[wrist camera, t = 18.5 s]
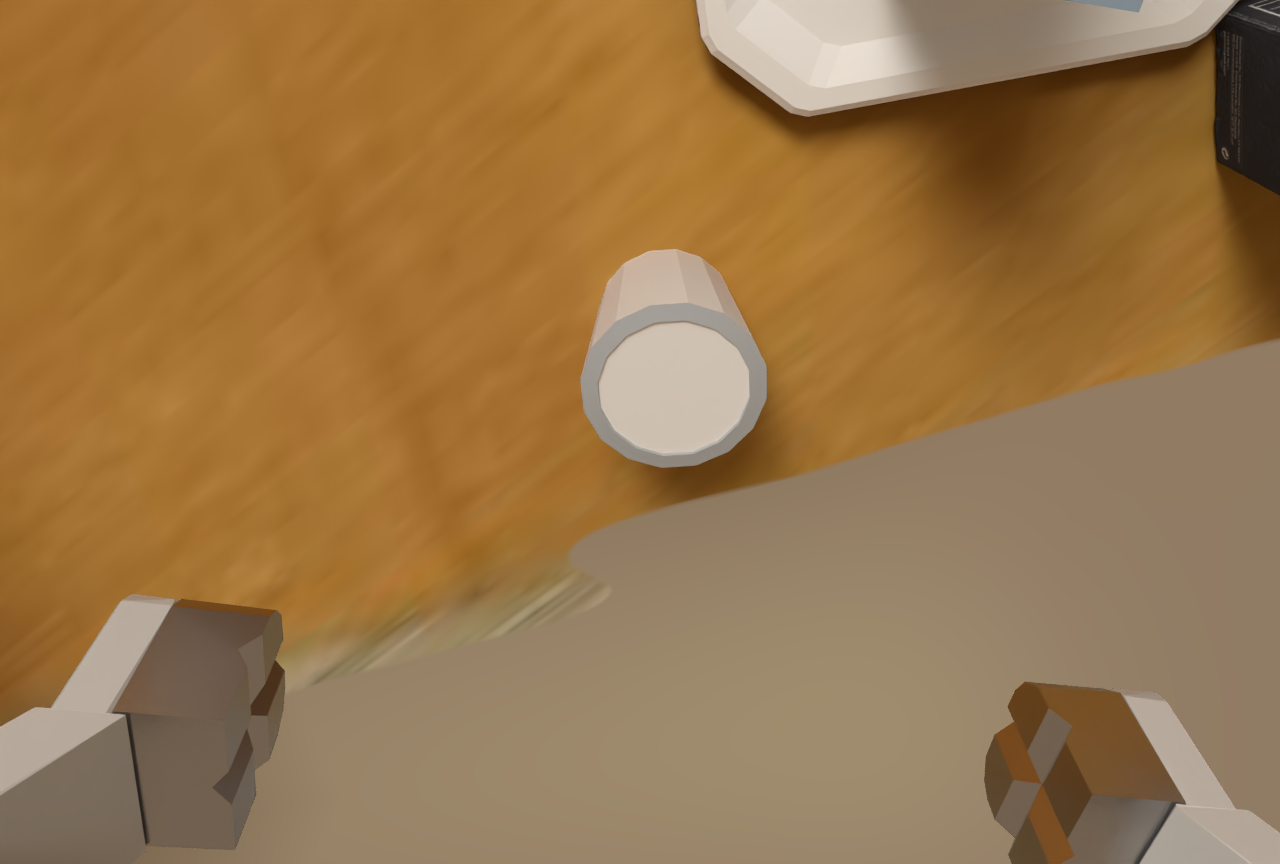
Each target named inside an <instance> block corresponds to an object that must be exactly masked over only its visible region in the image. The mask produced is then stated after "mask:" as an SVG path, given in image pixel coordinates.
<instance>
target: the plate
mask: <svg viewBox="0 0 1280 864" xmlns="http://www.w3.org/2000/svg"><path fill="white" fill-rule="evenodd" d="M1238 1H1239V0H1143V3H1142V5H1141V8H1140V11H1139V13H1138V12H1132V11H1126V10H1120V9H1114V8H1108V7H1102V6H1096V5H1090V4H1084V3H1078V2H1072V1H1066V0H696V6H697V13H698V20H699V27H700V35H701V38H702V40H703V41H704V43H705V45H706V47H707V48H708V50H709V52H710V53H711V54H712V55H713V56H715V57H716V58H717V59H719V60H720V61H721V62H723V63H724V64H725V65H727V66H728V67H729V68H731V69H732V70H733V71H735V72H736V73H737V74H739V75H740V76H741V77H743V78H744V79H745V80H747V81H748V82H749V83H751V84H752V85H753V86H755V87H756V88H757V89H759V90H760V91H761V92H763V93H764V94H765V95H767V96H768V97H769V98H771V99H772V100H773V101H775V102H776V103H777V104H779V105H780V106H781V107H783V108H784V109H785V110H787V111H788V112H790V113H792V114H797V115H801V116H806V117H810V116H815V115H820V114H826V113H831V112H837V111H842V110H848V109H853V108H858V107H864V106H869V105H875V104H880V103H886V102H891V101H896V100H902V99H907V98H913V97H918V96H924V95H929V94H934V93H940V92H945V91H951V90H956V89H961V88H967V87H972V86H978V85H983V84H989V83H994V82H999V81H1005V80H1010V79H1016V78H1021V77H1027V76H1032V75H1037V74H1043V73H1048V72H1054V71H1059V70H1064V69H1070V68H1075V67H1081V66H1086V65H1092V64H1097V63H1102V62H1108V61H1113V60H1119V59H1124V58H1130V57H1135V56H1140V55H1146V54H1151V53H1157V52H1162V51H1167V50H1173V49H1178V48H1184V47H1188V46H1190V45H1192V44H1193V43H1195V42H1197V41H1199V40H1200V39H1202V38H1204V37H1206V36H1207V35H1208V34H1209V33H1210V31H1211V30H1212V29H1213V28H1214V27H1215V26H1216V25H1217V24H1218V23H1219V22H1220V21H1221V19H1222V18H1223V17H1224V16H1225V15H1226V14H1227V13H1228V12H1229V11H1230V10H1231V9H1232V8H1233V6H1234V5H1235V4H1236V3H1237V2H1238Z"/></svg>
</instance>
